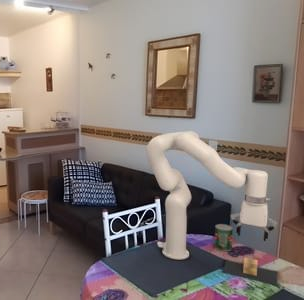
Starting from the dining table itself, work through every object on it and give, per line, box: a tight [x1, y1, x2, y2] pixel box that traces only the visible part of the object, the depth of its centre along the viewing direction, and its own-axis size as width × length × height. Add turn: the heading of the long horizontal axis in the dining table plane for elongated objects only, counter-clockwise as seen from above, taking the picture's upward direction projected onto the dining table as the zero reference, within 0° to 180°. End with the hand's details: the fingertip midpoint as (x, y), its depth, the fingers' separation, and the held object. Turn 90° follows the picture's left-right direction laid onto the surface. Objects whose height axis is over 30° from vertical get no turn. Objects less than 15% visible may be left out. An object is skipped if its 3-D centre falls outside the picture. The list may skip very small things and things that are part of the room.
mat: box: [222, 260, 278, 286], centre depth 139 cm, size 20×12×1 cm, turn 57°
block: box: [243, 256, 259, 276], centre depth 139 cm, size 5×5×5 cm
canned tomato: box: [214, 223, 234, 252], centre depth 162 cm, size 8×8×11 cm
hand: (251, 237), depth 138 cm, fingers open, 9 cm apart
